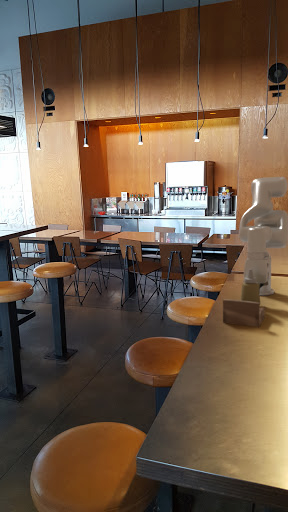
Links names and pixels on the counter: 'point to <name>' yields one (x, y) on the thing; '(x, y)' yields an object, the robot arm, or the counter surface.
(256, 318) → the walnut holder
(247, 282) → the squeeze bottle
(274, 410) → the counter surface
